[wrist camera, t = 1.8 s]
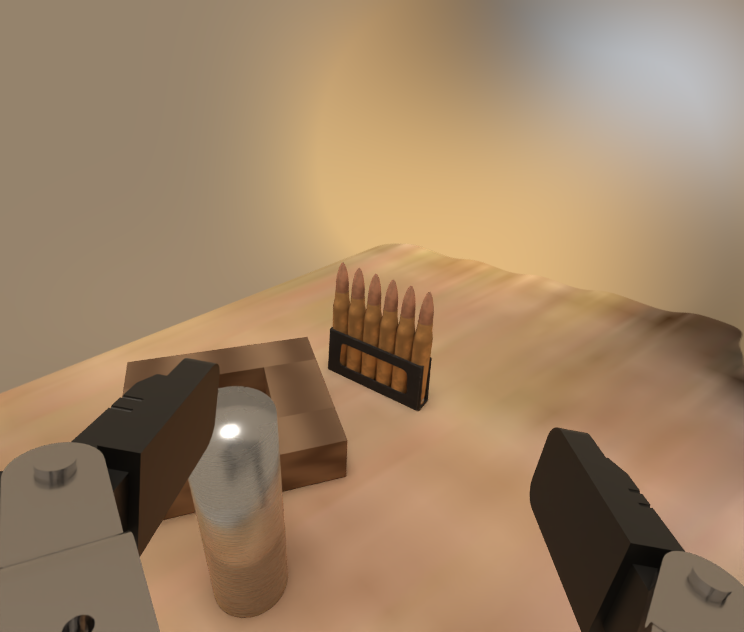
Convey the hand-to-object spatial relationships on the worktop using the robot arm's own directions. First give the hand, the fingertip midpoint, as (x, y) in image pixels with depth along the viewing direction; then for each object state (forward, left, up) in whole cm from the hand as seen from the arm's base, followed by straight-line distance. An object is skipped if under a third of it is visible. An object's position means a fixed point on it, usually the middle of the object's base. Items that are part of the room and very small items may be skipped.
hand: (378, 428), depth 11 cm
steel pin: (+3, -10, -22) cm, 25 cm away
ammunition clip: (-10, -26, -22) cm, 36 cm away
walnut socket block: (+4, -23, -22) cm, 32 cm away
